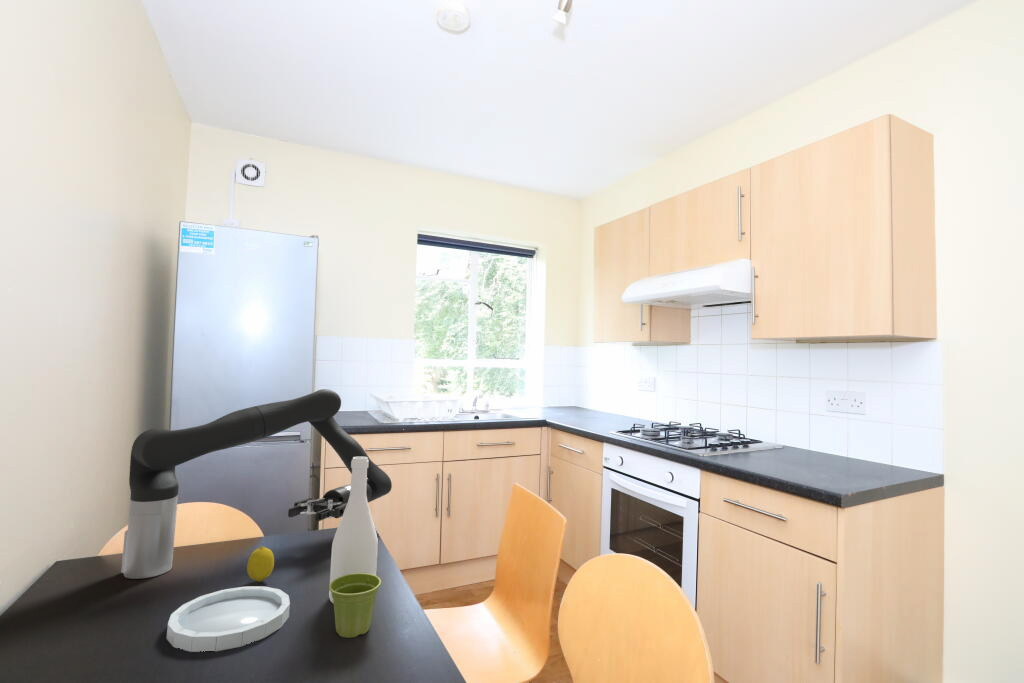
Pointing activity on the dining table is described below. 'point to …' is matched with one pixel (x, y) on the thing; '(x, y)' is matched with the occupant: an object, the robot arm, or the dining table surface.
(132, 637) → the dining table surface
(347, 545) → the wine bottle
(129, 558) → the robot arm
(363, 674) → the dining table surface
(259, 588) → the dish
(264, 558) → the lemon
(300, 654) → the dining table surface
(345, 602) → the plant pot
